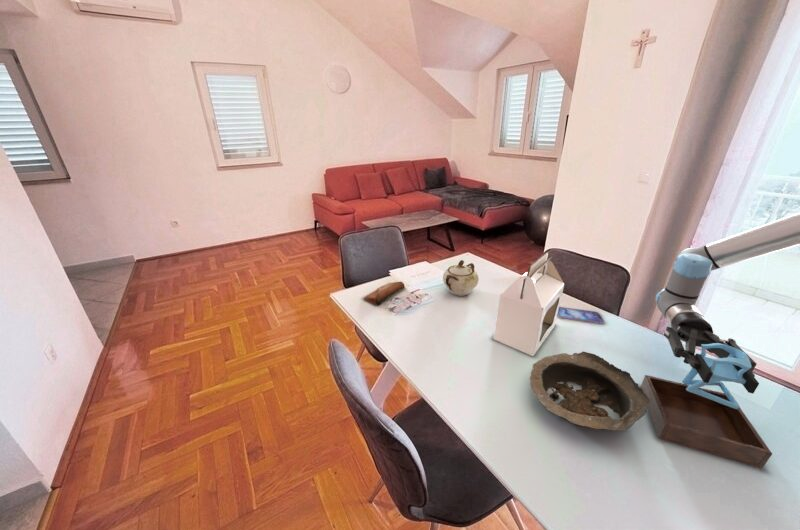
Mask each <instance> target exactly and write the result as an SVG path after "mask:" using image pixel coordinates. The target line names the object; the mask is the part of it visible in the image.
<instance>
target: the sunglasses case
mask: <svg viewBox="0 0 800 530" xmlns="http://www.w3.org/2000/svg"><path fill="white" fill-rule="evenodd" d="M404 289H405V283H404V281H394V282H390V283H387V284H384V285H381V286H379V287H378V288H377V289H375V290H374V291H372V292H370V293H369V294H367V295H366V296H365V297H364V298H363V300H365V301H366V302H367V303H369V304H372V305H373V306H378V305H379V304H381V303H382V302H384V301H385V300H387V299H388V298H390V297H391V296H393V295H395V294H397V293H398V292H400V291H402V290H404Z"/></svg>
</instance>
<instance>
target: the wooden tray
mask: <svg viewBox="0 0 800 530" xmlns="http://www.w3.org/2000/svg"><path fill="white" fill-rule="evenodd" d="M688 386H690V385H687V384H683V383H682V382H678V381H673V380H669V379H665V378H661V377H657V376H652V375H648V374H645V375H644V377H643V379H642V382H641V384H640V387H639V388H641V389H642V390H643V393H644V394H645V395H646V396H647V397H648V398H649V400H650V401H649V402H650V403H648V404H645V406H646V409H647V412H648V413H649V416H650V419H651V421H652V424H653V427H654V430H655V432H656V435H657V438H658V439H659V440H661V441H665V442H669V443H673V444H676V445H679V446H682V447H686V448H690V449H693V450H696V451H700V452H703V453H707V454H710V455H713V456H716V457H720V458H724V459H727V460H731V461H734V462H737V463H741V464H744V465H748V466H752V467H754V468H758V469H763V468H764V467H765V465H766V463H767V462H768V461H769V460H770V458H771V457H772V455H773V452H771V450H770V449H769V446H767V444H766V443H765V441H764V440H763V438H762V437H761V436H760V433H758V431H757V430H756V428H755V427H754V425H753V424H752V423H751V421H750V420H749V418H748V417H747V415H746V414H745V412H744V411H743V409H742V408H741V406H739V408H738V409H734V408H731V407H729V406H726V405H723V404H721V403H718V402H716V401H713V400H711V399H708V398H705V397H703V396H700V395H697V394H694V393H691V392H689V391H687V390H686V388H687V387H688ZM698 389H699V390H702V391H705V392H707V393H710V394H712V395H715V396H717V397H720V398H722V399H725V400H727V401H729V399H728V398H727V396H726V395H725V393H724V392H721V391H717V390H712V389H707V388H703V387H700V388H698Z"/></svg>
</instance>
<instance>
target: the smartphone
mask: <svg viewBox="0 0 800 530" xmlns="http://www.w3.org/2000/svg"><path fill="white" fill-rule="evenodd" d="M557 318H560V319H566V320H574V321H581V322H587V323H595V324H604V319H603V318H602V316H601V314H600V313H599V312H597V311H593V310H592V311H591V310H583V309H577V308H569V307H562V306H561V307H560V306H559V310H558V314H557Z"/></svg>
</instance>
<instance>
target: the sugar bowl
mask: <svg viewBox="0 0 800 530" xmlns="http://www.w3.org/2000/svg"><path fill="white" fill-rule="evenodd" d="M464 264H465V261H464V260H463V259H460V260H459V262H458V263H457V264H455V265H450V266H449V267H448V268H446V270H445V271H444V272H443V274H442V281H443V283H444V285H445V287H446V288H447V290H448V291H449V292H450V293H451V294H452V295H454V296H457V297H465V296H467V295H469V294H470V293H471V292H472V291H473V290H474V289H475V288H476V287H477V285H478V284H479V280H480V279H479V275H478V272H476V269H475V264H474V263H472V262H471V263H468V264H465V265H464Z"/></svg>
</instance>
